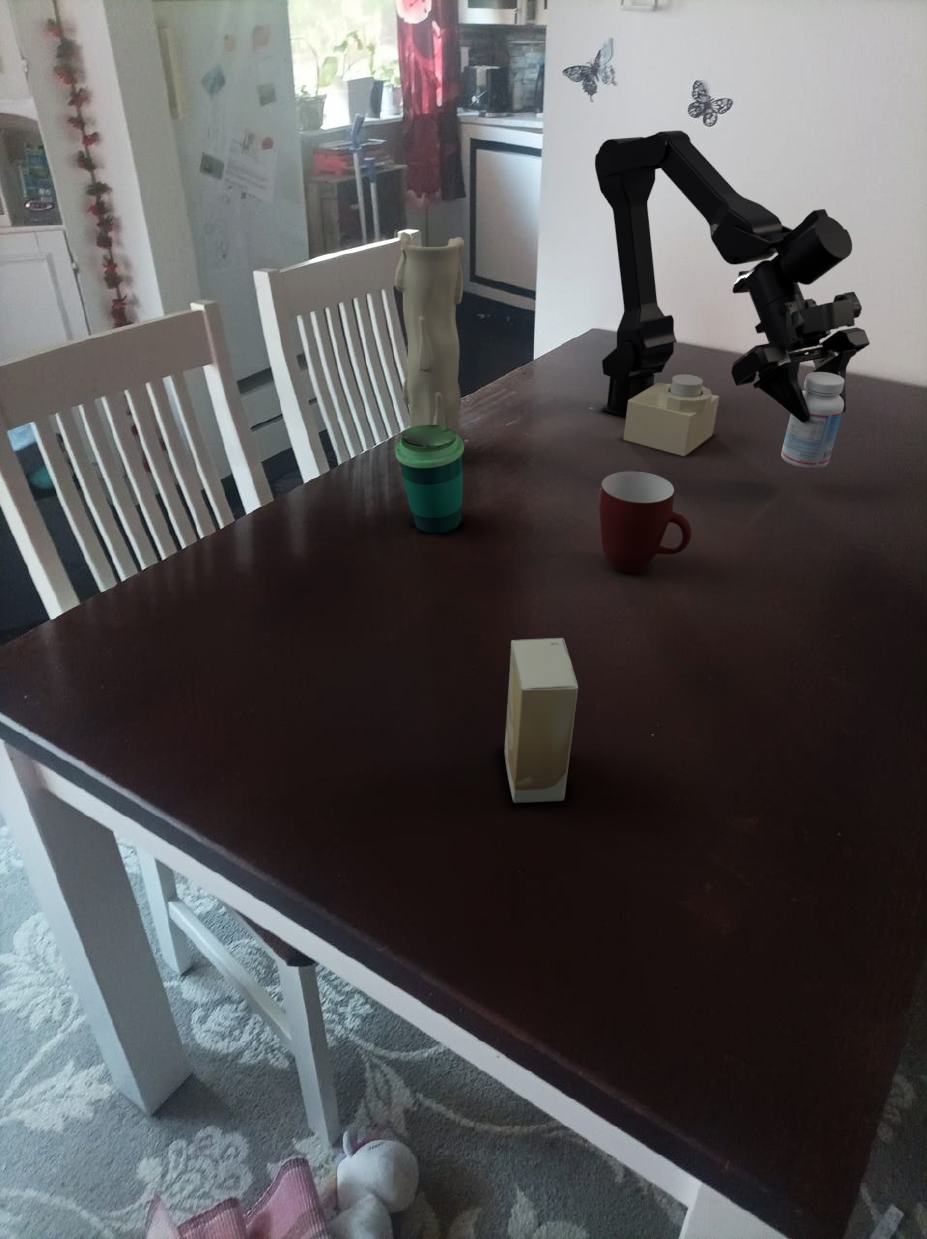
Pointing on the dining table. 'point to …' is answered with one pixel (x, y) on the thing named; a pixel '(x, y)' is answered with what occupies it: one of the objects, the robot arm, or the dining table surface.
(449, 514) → the cup
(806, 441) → the pill bottle
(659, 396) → the block
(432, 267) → the vase
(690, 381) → the cylinder
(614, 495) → the mug
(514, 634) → the dining table surface
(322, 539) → the dining table surface
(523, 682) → the cosmetic box
